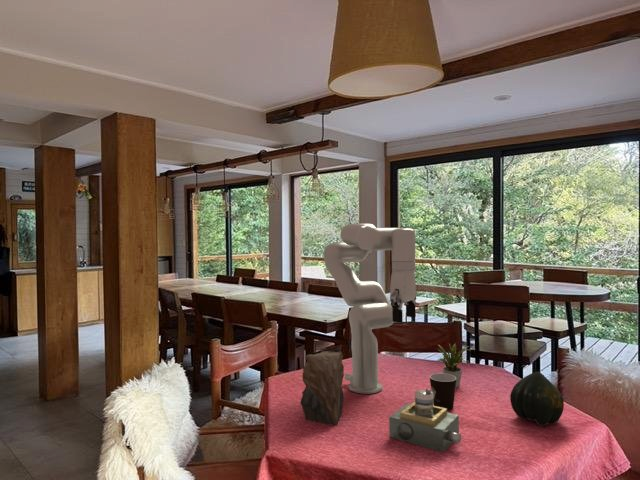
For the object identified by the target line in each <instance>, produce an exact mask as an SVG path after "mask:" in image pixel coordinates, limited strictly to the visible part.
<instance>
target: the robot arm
mask: <svg viewBox="0 0 640 480" xmlns="http://www.w3.org/2000/svg"><path fill="white" fill-rule="evenodd" d="M340 238H341V240H342V241H338V242H331V243H329V244H327V245H326V246H325V247H324V250H323V261H324V265H325V268H326V270H327V271H328V273H329V275H330V276H331V277H332V278H333V280H334V282H335V283H336V286H337V288H338V291H339V293H340V295H341V297H342V298H343V300H344V302H345V303H346V305H347V306H348V307H351V308H350V310H349V311H348V321H349V325H350V331H351V350H352V351H351V353H352V355H351V356H352V357H351V360H352V361H351V362H352V367H351V369H352V373H350V372H349V373H348V372H346V373H344V380H346V381H349V384H348V389H349V391H351V392H353V393H356V394H364V395H365V394H366V395H370V394H377V393H379V392H382V390H383V384H382V383H381V382H379V354H378V353H379V350H378V349H379V348H378V346H379V345H378V339H377V337H376V336H375V334H374V332H373V330H374V329H375V330H376V329H383V328H388V327H390V326H392V325H393V324H394V323H400V324H401V323H403V309H402V308H403V307H402V306H403V304H404V303H406V304H405V316H406V317H407V318H416V304H417V301H416V299H417V294H418V291H417V289H416V288H417V285H416V274H415V272H416V268H417V267H416V232H415V230H414V229H413V228H407V227H406V228H405V227H404V228H402V227H376V226H375V225H374V224H373V223H367V222H365V223H348V224H346V225H344V226H343V227H342V228H341V230H340ZM371 251H373V252H375V251H376V252H378V251H391V275H390V288H389V289H390V290H389V298H388V296H387V294H386V293H385V291H384V289H383V287H382V286H381V284H380V283H378V282H377V281H374V280H364V281H363V280H360V279H359V277H358V276H357V274H356V272H355V271H354V270H353V269H352V268H351V267H350V266H348V265H346V264H345V263H347V264H348V263H360V262H363V261H365V259H366V258H367V257H368V255H369V254H370V252H371Z"/></svg>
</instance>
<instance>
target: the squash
mask: <svg viewBox="0 0 640 480" xmlns="http://www.w3.org/2000/svg"><path fill="white" fill-rule="evenodd" d="M509 399H510V401H509V402H510V405H511V408H512V410H513V412H514V413H515V414H516V415H517V416H518V417H519V418H521V419H524V420H530V421H535V422H536V423H537V425H538V426H542V427H543V426H546V425H552V424H555V423H557V422H558V421H559V420H560V418H561V417H562V415H563V413H564V412H563V411H564V405H565V404H564V402H565V401H564V397H563V395H562V393H561V392H560V391H559V389H558V388H557V387H556V386H555V385H554V384H553V383H552V382H551V381H550V380H549V379H548V378H547V377H546V376H545V375H544V374H543V373H542V372H541V371H535V372H534V371H533V372H532V373H530V374H528V375H526V376H524V377H522V378H521V379H519V380H518V381H517V382H516V383H515V384H514V386H513V387H512V389H511V391H510V396H509Z"/></svg>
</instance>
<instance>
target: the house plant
mask: <svg viewBox="0 0 640 480" xmlns="http://www.w3.org/2000/svg"><path fill="white" fill-rule="evenodd" d="M456 343H457V342H454V344H453V345H452V346H451V343H449V342H448V344H449V345H448V347H449V350H448V351H446V349H445V348H444V347H442V345H440V344H438V347H439V348H440V349H438V351H439V352H440V354H442V356H443V358H439V359H437V360H436V362H437V361H439V362H443V364H444V365H445V366H443V367H442V373H445V374H450V375H453V376H455V377H456V387H455V389H456V388H459V387H460V385H461V380H462V373H463V368H461V367H460V366H462V365H463V363H468V360H464V358H463V357H465V356H466V355H467V354H464V352H465V351H472V349H471V348H469V347H470V345H469V346H468V345H467V346H465V347H463V348H462V349H461V350H460V351H457V344H456ZM468 348H469V349H468ZM462 362H463V363H462ZM460 363H461V364H460ZM458 364H460V366H458Z"/></svg>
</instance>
